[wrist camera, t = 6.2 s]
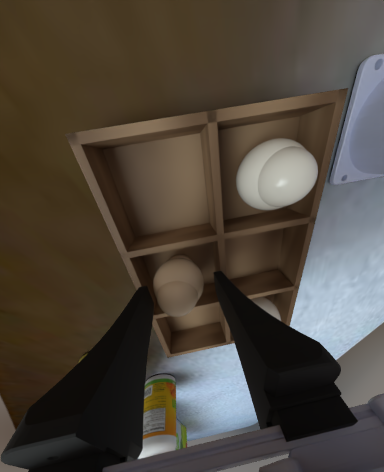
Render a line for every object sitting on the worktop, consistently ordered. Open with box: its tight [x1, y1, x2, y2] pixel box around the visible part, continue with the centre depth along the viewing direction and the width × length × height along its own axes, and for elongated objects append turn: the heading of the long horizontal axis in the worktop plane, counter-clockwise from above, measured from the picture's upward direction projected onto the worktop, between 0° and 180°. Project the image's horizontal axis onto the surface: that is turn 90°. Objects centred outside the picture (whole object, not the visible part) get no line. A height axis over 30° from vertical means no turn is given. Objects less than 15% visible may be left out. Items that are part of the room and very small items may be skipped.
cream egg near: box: [236, 138, 318, 210], centre depth 9 cm, size 4×4×5 cm
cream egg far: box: [250, 297, 281, 321], centre depth 15 cm, size 4×4×5 cm
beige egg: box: [153, 254, 204, 317], centre depth 12 cm, size 4×4×5 cm
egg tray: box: [65, 88, 348, 358], centre depth 14 cm, size 15×22×3 cm
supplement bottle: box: [138, 374, 176, 459], centre depth 22 cm, size 5×5×10 cm
